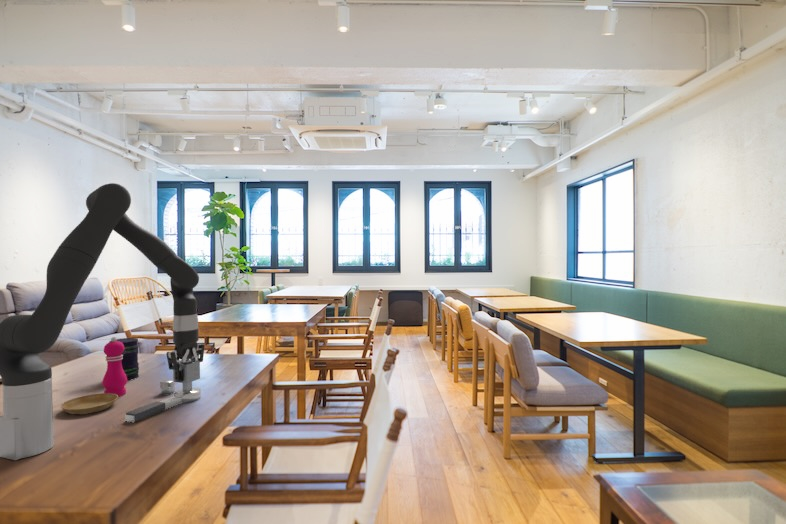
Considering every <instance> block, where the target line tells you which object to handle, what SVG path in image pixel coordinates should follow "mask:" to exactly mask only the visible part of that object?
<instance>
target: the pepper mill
mask: <svg viewBox="0 0 786 524" xmlns="http://www.w3.org/2000/svg"><path fill="white" fill-rule="evenodd" d="M117 339H118V338H117V337H116V336H112V337H111V338H110V341H112V342H109V341H108V342H107V343H106V344H105V345H104V347H103V353H104V355H106V356H105V361H106V363H107V366H106V367H107V368H106V371H105V374H104V376H103V379H102V384H101V385H102V387H103V388H104V389H105V390H104V392H103V393H112V394H116V395H118V397H121V395H122V396H124V395H126V394H127V391H126V390H127V388H126V387H125V386H126V385H127V383H128V381H127V377H126V374H125V372H124V370H123V368H122V363H121V362H122V359H123V355H122V353H123V351H124V345H123V343H121V342H119V341H117ZM123 394H124V395H123Z"/></svg>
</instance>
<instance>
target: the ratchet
mask: <svg viewBox="0 0 786 524" xmlns="http://www.w3.org/2000/svg"><path fill="white" fill-rule="evenodd" d="M181 384H182V388H181V389H179V390H175V392H174V393H173V396H172V397H168V398H165V399H162V400H161V401H153V402H151V403H148V404H145V405H143V406H139V407H138V408H135V409H132V410H130V411H129V410H128V411H126V412H125V415H124V418H125V419H124V422H125V421H127V422H126V423H130V422H132V423H131V424H134V422H135V423H138V422H140V420H141V421H143V420H145V418H146V419H148V418H150V416H151V417H152V416H155V415H157V413H158V414H160V413H162V411H163V412H165V411H166V409H167V410H169V409H172V408H173V406H174V407H176V406H179V405H181V404H187V402H188V403H192V402H195V401H199V400H200V399H201V397H202V390H201V388H199V387H193V381H192V382H189V383H181ZM178 404H179V405H178ZM171 407H172V408H171ZM168 408H169V409H168ZM147 417H148V418H147ZM142 419H143V420H142ZM137 421H138V422H137Z"/></svg>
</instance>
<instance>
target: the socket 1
mask: <svg viewBox="0 0 786 524" xmlns="http://www.w3.org/2000/svg"><path fill="white" fill-rule="evenodd" d="M175 385H176V384H175V382H174V381H173V379H165V380H162V381H160V382H159V387H160V388H159V389H160V391H159V392H160V393H159V394H160V395H161V394H163V395H162V396H166V394H169V395H172V394H174V392H176V390H175ZM171 393H172V394H171Z"/></svg>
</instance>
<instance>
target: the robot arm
mask: <svg viewBox="0 0 786 524" xmlns="http://www.w3.org/2000/svg"><path fill="white" fill-rule="evenodd" d="M131 203H132V198H131V194H130V192H129V190H128V189H127V188H126V187H125V186H124V185H122V184H120V183H115V182H114V183H113V182H112V183H111V182H110V183H105V184H103V185H101V186H98V188H96V189H94V190H93V191H92V192H91V193H89V194H88V196H87V197H86V199H85V206H86V208H87V210H88V212H87V214H86V216H85V217H84V218H83V220H81V221H80V223H78V225H77V226H76V227H75V228H74V229H73V230H71V232H70V233H69V234H68V235H67V236H66V238H64V240H63V241H62V242H61V243H60V245H59V246H58V247H57V249H56V250H55V252H54V254H53V256H52V257H51V258H50V260H49V262H48V265H47V267H46V289H45V293H44V295H43V298H42V299H41V300H40V302H39V303H38V305H37V307H36V309H35V310H34V311H33V312H32V314H15V315H14V314H13V315H10V316H8V317H6V318H4V319H3V320H2V321H1V322H0V378H1V385H2V389H1V390H2V416H0V458H3V459H8V460H11V461H18V460H21V459H25V458H29V457H33V456H36V455H40V454H43V453H45V452H47V451H49V450H51V449H52V448H53V446H54V445H55V444H54V443H55V442H54V438H55V436H54V410H53V409H54V408H53V407H54V406H53V404H54V403H53V370H52V367H51V366H50V365H49V364H48V363H47V362H46V361H44V360H43V359H42V358H41V356H40V355H39V354H41V353H44V352H46V351H48V350H50V349H51V347H52V346H54V345H55V343H56V342H57V340H58V339H59V337H60V335H61V333H62V330H63V328H64V326H65V323H66V322H67V318H68V316H69V313H70V311H71V309H72V307H73V304H74V302H75V301H76V299H77V297H78V296H79V294H80V292H81V290H82V288H83V286H84V284H85V282H86V280H87V279H88V278H89V275H90V274H91V273H92V271H93V269H94V267H95V266H96V263H97V262H98V260H99V258H100V256H101V254H102V253H103V250H104V249H105V246H106V244H108V240H109V238H110V236H111V234H112V233H113V231H114V232H115V233H116V234H118V235H119V236H121V237H122V238H123V239H124V240H126V241H127V242H129V243H130V244H131V245H132V246H134V247H135V248H136V249H137V250H138V251H139V252H140V253H142V255H144V257H145V258H146V259H148V260H149V262H151V263H152V264H153V266H155V267H156V268H157V269H158V270H161V271H162V272H164V273H165V274H166V275H167V276H169V277H170V279H169V280H170V281H169V282H170V283H169V284H170V290H171V294H172V296H171V297H172V299H173V317H172V335H173V336H172V337H173V338H172V340H173V343H174V345H175V346H174V350H172V351H171V350H170V351H166V359H167V365H168V369H169V370H175V380H176V381H177V382H176V383H179V382H182V381H183V370H182V368H183V364H184V363H185V362H186V359H192V360H194V361H200V363H201V362H202V363H203V362H204V355H205V354H204V353H205V344H202V343H198V342H199V317H198V302H197V298H196V297H195V296H194V288H196V287H197V286H198V284H199V280H200V277H199V274H198V272H197V271H196V270H195V269H194V267H192V265H190V264H189V263H188V262H186V261H185V260H184V259H182V258H181V257H179V256H178V255H177V253H176V251H174V250H173V249H172V248H171V247H170V246H169V245H168V244H167V243H166V242H165V241H164V240H163V239H162V238H160V237H159V236H157V235H156V234H154V233H153V232H151V231H149V230H148V229H145V228H144V227H143V226H140V225H139V224H138V223H136V222H135V221H134V220H133V219H131V218H130V216H129V215H128V214H127V211H128V210H129V209H130V207H131ZM179 363H180V364H179ZM178 364H179V366H178Z"/></svg>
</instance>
